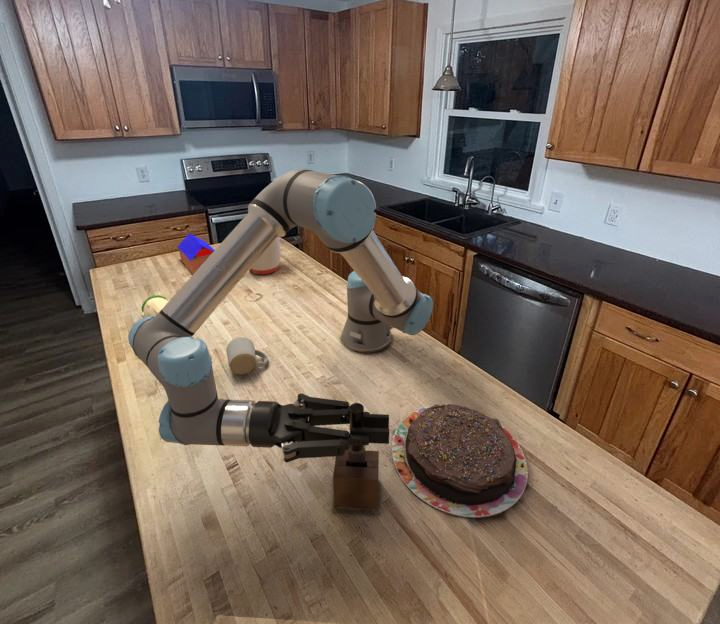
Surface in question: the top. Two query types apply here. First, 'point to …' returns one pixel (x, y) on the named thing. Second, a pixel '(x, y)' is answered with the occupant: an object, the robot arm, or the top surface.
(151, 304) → the cartoon head
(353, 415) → the knife
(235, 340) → the ceramic mug
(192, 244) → the house
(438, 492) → the chocolate cake
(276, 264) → the citrus juicer
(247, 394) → the top surface
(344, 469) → the knife block
